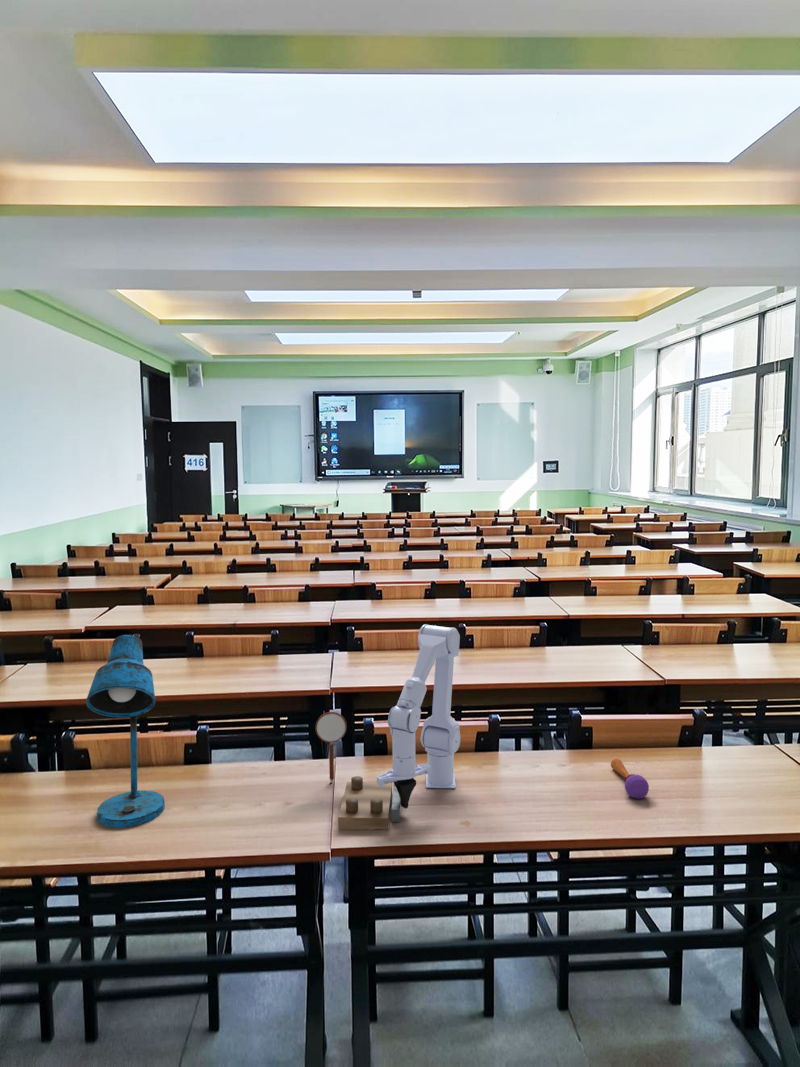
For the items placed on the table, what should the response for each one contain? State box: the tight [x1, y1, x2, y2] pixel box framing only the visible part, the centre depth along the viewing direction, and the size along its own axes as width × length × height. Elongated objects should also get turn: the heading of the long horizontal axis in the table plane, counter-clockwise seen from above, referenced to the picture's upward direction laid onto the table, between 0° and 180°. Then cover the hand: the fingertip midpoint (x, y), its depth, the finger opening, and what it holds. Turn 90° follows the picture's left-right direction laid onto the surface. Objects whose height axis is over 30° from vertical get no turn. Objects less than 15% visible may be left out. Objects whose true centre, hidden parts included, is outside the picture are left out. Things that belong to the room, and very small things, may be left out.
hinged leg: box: [391, 783, 402, 823], centre depth 177 cm, size 15×2×4 cm, turn 178°
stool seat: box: [337, 776, 393, 831], centre depth 176 cm, size 19×12×6 cm, turn 178°
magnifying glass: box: [314, 711, 348, 783], centre depth 191 cm, size 9×2×20 cm, turn 96°
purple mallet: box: [610, 758, 650, 800], centre depth 190 cm, size 6×6×20 cm
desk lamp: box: [85, 634, 166, 829], centre depth 172 cm, size 16×22×45 cm
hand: (404, 806), depth 174 cm, fingers closed, pressing on hinged leg
